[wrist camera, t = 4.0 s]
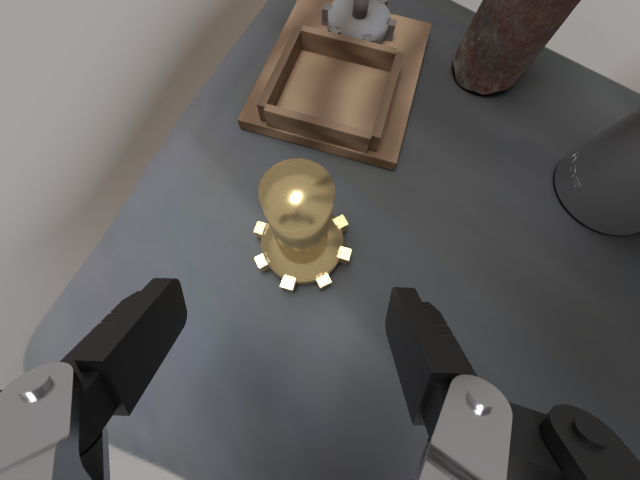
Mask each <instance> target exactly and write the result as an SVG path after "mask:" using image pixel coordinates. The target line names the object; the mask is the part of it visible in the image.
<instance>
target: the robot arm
mask: <svg viewBox="0 0 640 480" xmlns="http://www.w3.org/2000/svg"><path fill="white" fill-rule="evenodd" d="M554 180H555V188H556V191H557V194H558V196H559V198H560V200H561V202H562V203H563V205H564V206H565V207H566V209H567V210H568V211H569V212H570V213H571V214H572V215H573V216H574V217H575V218H576V219H577V220H578V221H580V222H581V223H583V224H584V225H586V226H588V227H589V228H592V229H594V230H596V231H598V232H601V233H605V234H609V235H619V236H621V235H629V234H633V233H636V232H640V107H639V108H638V109H636V110H635V111H633V112H632V113H630V114H629V115H628V116H626V117H625V118H623V119H622V120H620V121H619V122H617V123H616V124H614V125H613V126H611V127H610V128H608V129H606V130H605V131H603V132H602V133H601V134H599V135H598V136H596V137H595V138H593V139H592V140H590V141H589V142H587V143H586V144H584V145H583V146H581V147H580V148H578V149H577V150H575V151H574V152H572V153H571V154H569V155H568V156H566V157H565V158H563V160H562V161H561V162H560V163H559V164H558V166H557V168H556V171H555V177H554ZM186 319H187V309H186V305H185V301H184V296H183V292H182V288H181V284H180V281H179V280H178V279H172V278H154V279H152V280H151V281H150V282H149V283H148V284H147V285H146V286H145V287H144V288H143V289H142V290H141V291H137V292H136V293H134V294H132V295H130V296H129V297H127V298H125V299H124V300H122V301H121V302H120V303H119V304H118V305H117V306H116V307H115V308H114V309H113V310H112V311H111V314H108V315H107V316H106V317H105V318H104V319H103V320H102V321H101V324H100V323H99V324H98V325H97V326H96V327H95V328H94V329H93V330H92V331H91V332H90V333H89V334H88V335H87V336H86V337H85V338H84V339H83V340H82V341H80V342H79V343H78V344H77V345H76V346H75V347H74V348H73V349H72V350H71V351H70V352H69V353H68V354H67V355H66V356H65V357H64V358H63V359H62V360H61V361H60V362H55V363H49V364H45V365H42V366H39V367H37V368H34V369H32V370H30V371H28V372H26V373H24V374H23V375H21V376H19V377H18V378H17V379H15V380H14V381H12V382H11V383H10V384H9V385H7V386H6V387H5V388H4V389H3V390H0V480H110V470H109V448H108V431H107V428H106V424H107V423H108V421H109V420H110V418H111V417H112V415H121V416H129V415H130V414H131V412H132V410H133V409H134V407H135V406H136V404H137V402H138V401H139V399H140V397H141V396H142V394H143V393H144V391H145V389H146V388H147V386H148V384H149V383H150V381H151V380H152V378H153V376H154V375H155V373H156V372H157V370H158V368H159V367H160V365H161V363H162V362H163V360H164V359H165V357H166V355H167V354H168V352H169V350H170V349H171V347H172V346H173V344H174V342H175V341H176V339H177V337H178V336H179V334H180V333H181V331H182V329H183V328H184V326H185V323H186ZM386 333H387V337H388V341H389V344H390V348H391V351H392V355H393V358H394V362H395V365H396V368H397V372H398V375H399V379H400V382H401V386H402V389H403V393H404V396H405V400H406V403H407V407H408V410H409V413H410V417H411V420H412V424H413V425H425V426H426V429H427V432H428V435H429V437H428V440H427V442H426V445H425V448H424V451H423V453H422V456H421V459H420V462H419V465H418V468H417V470H416V473H415V476H414V479H413V480H640V461H639V460H638V459H637V458H636V457H635V455H634V454H633V453H632V452H631V451H630V450H629V448H628V447H627V446H626V445H625V444H624V442H623V441H622V440H621V439H620V438H619V437H618V436H617V435H616V433H615V432H614V431H613V430H611V429H610V428H609V427H608V426H607V425H606V424H604V423H603V422H602V421H601V420H599V419H598V418H596V417H595V416H593V415H591V414H590V413H588V412H586V411H584V410H582V409H580V408H577V407H574V406H571V405H565V404H560V405H556V406H554V407H553V408H552V409H551V410H550V412H549V413H548V414H547V415H546V414H543V413H540V412H537V411H534V410H531V409H528V408H525V407H522V406H519V405H515V404H513V403H510V402H508V401H507V399H506V398H505V397H504V395H503V394H502V393H501V392H500V391H499V390H498V389H497V388H496V387H495V386H493V385H492V384H490V383H489V382H487V381H486V380H484V379H482V378H479V377H478V376H477V375H476V373H475V371H474V370H473V368H472V366H471V365H470V363H469V361H468V359H467V358H466V356H465V354H464V352H463V351H462V349H461V347H460V346H459V344H458V342H457V340H456V339H455V337H454V336H453V333H452V332H451V330H450V328H449V327H448V326H447V323H446V321H445V320H444V318H443V316H442V314H441V313H440V312H439V311H438V310H437V309H436V308H435V307H434V306H433V305H431V304H430V303H429V302H422V301H421V299H420V297H419V295H418V293H417V291H416V289H415V288H401V287H394V288H393V289H392V292H391V296H390V301H389V306H388V311H387V316H386Z"/></svg>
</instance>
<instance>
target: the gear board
mask: <svg viewBox="0 0 640 480" xmlns="http://www.w3.org/2000/svg"><path fill="white" fill-rule="evenodd" d="M387 3H388V0H297V2H296V4H295V6H294V8H293V10H292V12H291V14H290V16H289V18H288V20H287V22H286V24H285V26H284V28H283V30H282V32H281V34H280V36H279V38H278V40H277V42H276V44H275V46H274V48H273V50H272V52H271V54H270V56H269V58H268V60H267V62H266V64H265V66H264V68H263V70H262V72H261V74H260V76H259V78H258V80H257V82H256V84H255V86H254V88H253V90H252V92H251V94H250V96H249V98H248V100H247V102H246V104H245V106H244V107H243V109H242V111H241V113H240V115H239V117H238V119H237V120H238V123H239V126H240V128H241V129H244V130H248V131H251V132H255V133H259V134H262V135H266V136H270V137H273V138H277V139H280V140H284V141H288V142H291V143H295V144H298V145H302V146H306V147H309V148H313V149H316V150H320V151H324V152H327V153H331V154H335V155H338V156H342V157H345V158H349V159H353V160H356V161H360V162H363V163H367V164H371V165H374V166H378V167H381V168H385V169H389V170H392V171H393V170H394V168H395V166H396V164H397V160H398V156H399V152H400V148H401V144H402V140H403V136H404V132H405V128H406V124H407V120H408V116H409V112H410V108H411V104H412V100H413V96H414V92H415V88H416V84H417V80H418V76H419V72H420V68H421V64H422V60H423V56H424V52H425V48H426V44H427V40H428V36H429V32H430V28H431V24H432V23H427V22H423V21H419V20H415V19H411V18H406V17H402V16H398V15H394V14H390V12H389V10H388V8H387Z"/></svg>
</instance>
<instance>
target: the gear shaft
mask: <svg viewBox="0 0 640 480" xmlns="http://www.w3.org/2000/svg"><path fill="white" fill-rule="evenodd" d="M258 195H259V201H260V204H261V206H262V209H263V211H264V213H265V216H266V218H267V221H268V222H267V223H263V222H259V221H258V222H257V225H256V227H255V229H254V233H255V235H256V237H257V238H259V239H261V249H262V253H263V254H260V255H258V256H256V257H254V259H255V261H256V263H257V265H258V267H259V269H260V270H261V271H262V272H264V271H266V270H268V269H270V268H271V269H272V271H273V272H274V273H275V274H276V275H277V276H278V277H280V278H281V279H282V282H281V285H280V287H281V288H282V289H283V290H287V291H290V292H293V293H294V290H295V287H296V284H299V285H306V284H312V283H315V282H316V284H317V286H318V288H319V289H320V290H321V289H323V288H325V287H327V286H329V285H330V284H331V282H332V281H331V279H330V278H329V276H328V275H329V274H330V273H331V272H332V271H333V270H334V268H335V267H336V265H337V264H338V263H342V264H345V265H347V263H348V261H349V258H350V254H351V251H352V249H349V248H346V247H343V243H344V241H343V233H342V232H344V231H346V230H347V227H348V223H347V221H346V219H345V218H344V216H343V215H341V216H339V217H337V218H334V216H333V215H332V210H333V204H334V198H335V187H334V183H333V180H332V178H331V176H330V175H329V173H328V172H327V171H326V170H325V169H324V168H323V167H322V166H320V165H319V164H317V163H315V162H313V161H310V160H306V159H300V158H294V159H288V160H284V161H281V162H279V163H277V164H275V165H274V166H272V167H271V168H270V169H269V170H268V171H267V172H266V173H265V175H264V176H263V178H262V180H261V182H260V185H259V192H258Z"/></svg>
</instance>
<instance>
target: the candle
mask: <svg viewBox="0 0 640 480" xmlns="http://www.w3.org/2000/svg"><path fill="white" fill-rule="evenodd" d="M580 1H581V0H483V1H482V3H481V5H480V7H479V9H478V11H477V12H476V14H475V16H474V18H473V20H472V22H471V24H470V26H469V28H468V30H467V32H466V34H465V36H464V38H463V40H462V42H461V44H460V46H459V48H458V50H457V52H456V54H455V57H454V69H455V76H456V77H455V79H456V81H457V83H458V84H459V85H460V86H461V87H463V88H465V89H467V90H470V91H475V92H477V93H480V94H483V95H486V94H490V93H494V92H499V91H502V90H506V89H509V88H510V87H511V86H512V85H514V84H515V83H516V81H517V80H518V79H519V78H520V77H521V75H522V74H523V73H524V72H525V70H526V69H527V68H528V67H529V65H530V64H531V63H532V62H533V60H534V59H535V58H536V57H537V55H538V54H539V53H540V52H541V50H542V49H543V48H544V47H545V45H546V44H547V43H548V41H549V40H550V39H551V38H552V36H553V35H554V34H555V32H556V31H557V30H558V29H559V27H560V26H561V25H562V23H563V22H564V21H565V20H566V18H567V17H568V16H569V15H570V13H571V12H572V11H573V9H574V8H575V7H576V5H577V4H578V3H579V2H580Z"/></svg>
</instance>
